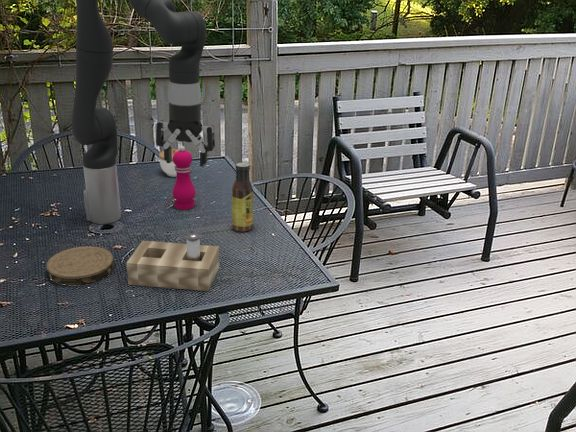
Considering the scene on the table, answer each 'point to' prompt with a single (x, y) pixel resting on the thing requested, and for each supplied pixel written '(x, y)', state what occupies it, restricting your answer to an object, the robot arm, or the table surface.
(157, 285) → the hole block
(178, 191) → the pepper mill
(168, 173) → the lidded jar
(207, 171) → the table surface
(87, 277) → the cork coaster
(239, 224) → the sauce bottle
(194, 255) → the clevis pin
